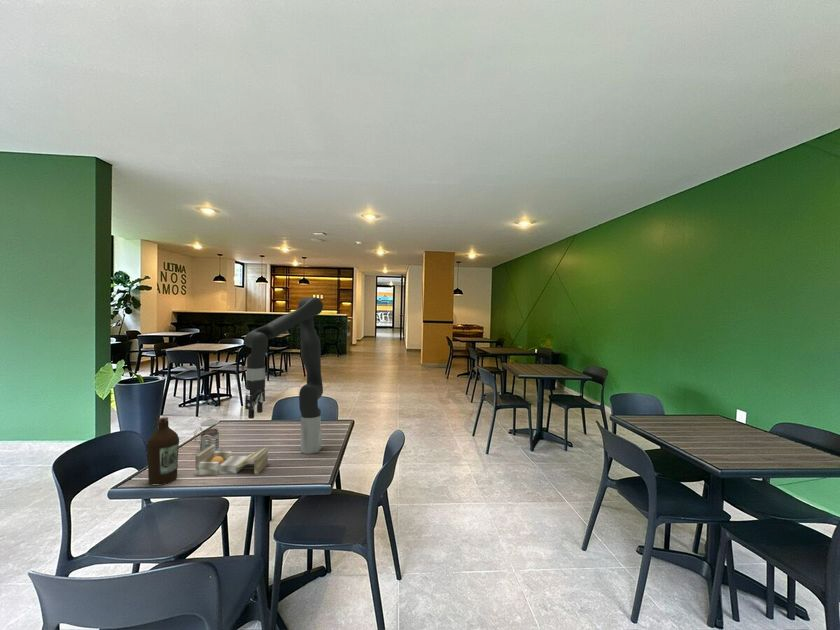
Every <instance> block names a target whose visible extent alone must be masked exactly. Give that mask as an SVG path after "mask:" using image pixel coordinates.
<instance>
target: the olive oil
mask: <svg viewBox="0 0 840 630" xmlns="http://www.w3.org/2000/svg"><path fill="white" fill-rule="evenodd" d="M157 423H158V425H157V426H158V427H157V429H156V430H155V431H154V432H153V433H152V434H151V435H150V436H149V437H148V440H147V442H146V452H147V455H146V456H147V469H148V470H147V473H148V478H147V479H148V484H149V485H150V484H163V485H165V484H164V483H167V484H169V483H168V482H170V483H172V482H174V481H175V480H177V479H178V468H179V463H178V461H179V447H180V437H179V435H178V433H177V432H176V431H174V430H173V429H172V428H170V426H169V417H167V416H165V417H160V418H158V422H157ZM173 480H174V481H173ZM171 481H172V482H171Z"/></svg>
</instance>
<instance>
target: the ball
mask: <svg viewBox="0 0 840 630" xmlns="http://www.w3.org/2000/svg"><path fill="white" fill-rule="evenodd" d="M211 462H219V465H220V464H221V463H223V462H224V459H223V458H222V457H220V456H216V457H214V458H213V459H212V460H211Z"/></svg>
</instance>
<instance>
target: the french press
mask: <svg viewBox="0 0 840 630" xmlns="http://www.w3.org/2000/svg"><path fill="white" fill-rule="evenodd" d="M207 403H209V404H211V403H213V400H212V399H208V400H207ZM218 424H220V421H219V419H215V418H209V419H206V420H204V421H202V422H200V426H201V427H200V426H199V427H198V428H196V429H195V430H194V432H193V439H194V441H195V442H196V443H198V444H199V451H198V452H197V455H198V454H199V453H201V452H202V451H204V450H205V449H207V448H208V447H210V446H211V445H215V451H216V452H221V450H222V448H221V447H220V432H219V429H217V428H209V429H208V428H207V429H204V430H203V428H202V427H211V426H216V425H218ZM199 430H200V431H201V432H200V433H201V434H200V441H198V440H197V439H196V437H197V436H196V435H197V434H198V431H199Z"/></svg>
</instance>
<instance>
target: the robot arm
mask: <svg viewBox="0 0 840 630" xmlns="http://www.w3.org/2000/svg"><path fill="white" fill-rule="evenodd" d="M323 309H324V303H323V301H322V300H321V299H320V298H318V297H316V296H315V297H313V296H312V297H303V298H301V299H300V300H299V301H298V303H297V309H295V310H293V311H291V312H289V313H286V314H283V315H281V316H279V317H277V318H275V319H273V320H271V321H270V322H268V323H267V324H265V325H263V326H260V327H258V328H255V329H253V330H251V331H249V332H248V333H246V335H245V336H244V338H243V339H244V340H243V342H244V345H245V346H247V347H248V348H251V351H250V354H248V355H247V357H246V371H245V372H246V373H245V375H246V377H245V383H246V384H245V385H246V386H245V389H246V390H247V391H249V394H246V395H245V403H244V406H245V408H244V409H245V410H247V412H248V414H247V415H248V416H247V417H248V419H250V420H251V419H255V407H256V413H258V414H261V413H263V409H264V408H263V405H264V402H265V401H266V370H265V369H266V368H265V367H266V365H265V363H266V362H265V360H266V359H265V357H266V354H267V351H268V346H269V345H268V344H269V340H270V339H271V340H272V339H275V338H277V337H278V336H280V335H282V334H284V333H286V331H288V330H291V328H293V327H294V326H296V325H298V324H299V326H300V328H299V329H300V355H301V360H302V363H303V365H304V368H305V370H306V371H305V372H306V384H304V385H303V386H301V388H300V390H299V394H298V397H299V398H298V399H299V400H298V401H299V403H298V404H299V411H300V412H299V413H300V452H301V453H302V454H306V455H309V454H310V455H311V454H315V453H318V454H319V452H320V451H321V450H322V434H323V433H322V431H323V430H322V428H321V420H322V419H321V415H322V414H321V413H322V412H321V411H322V410H321V409H320V408H319V405H318V404H319V402H318V400H319V399H320V398H321V397H322V396H323V393H324V387H323V386H324V385H323V378H322V371H321V370H322V367H321V366H322V365H321V364H322V362H321V341H320V338H319V336H318V333H317V331H316V329H315V326H314V317H316V316H319V315H320V313H322V311H323Z"/></svg>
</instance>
